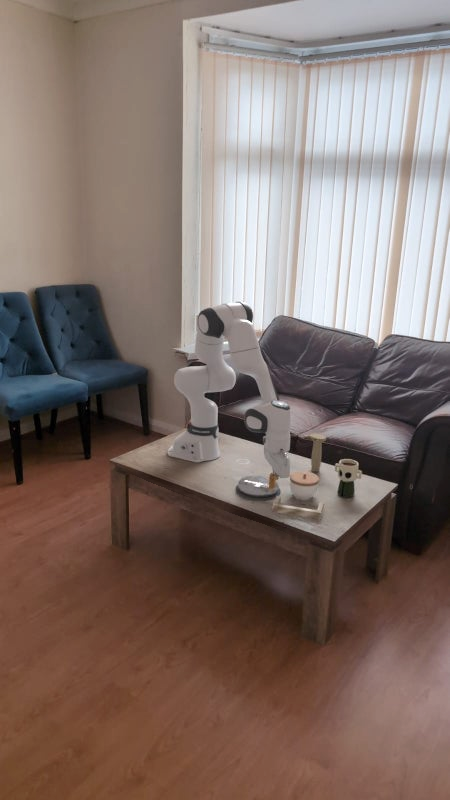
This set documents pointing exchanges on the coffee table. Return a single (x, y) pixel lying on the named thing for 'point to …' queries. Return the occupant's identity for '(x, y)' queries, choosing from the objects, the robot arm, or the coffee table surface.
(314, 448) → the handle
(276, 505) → the cream u-shaped bracket
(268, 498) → the base
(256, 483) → the turntable
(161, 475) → the coffee table surface
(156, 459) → the coffee table surface
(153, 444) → the coffee table surface
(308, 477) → the lidded jar
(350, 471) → the character mug
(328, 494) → the coffee table surface
